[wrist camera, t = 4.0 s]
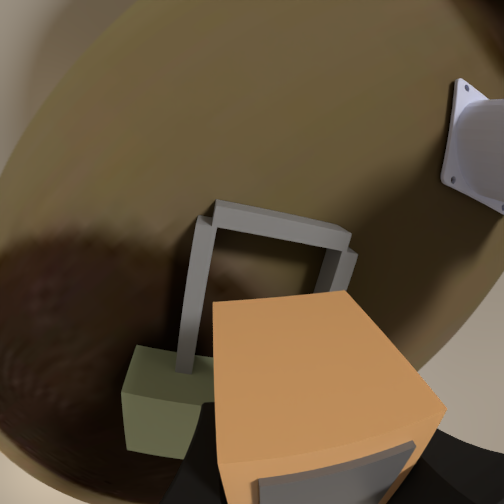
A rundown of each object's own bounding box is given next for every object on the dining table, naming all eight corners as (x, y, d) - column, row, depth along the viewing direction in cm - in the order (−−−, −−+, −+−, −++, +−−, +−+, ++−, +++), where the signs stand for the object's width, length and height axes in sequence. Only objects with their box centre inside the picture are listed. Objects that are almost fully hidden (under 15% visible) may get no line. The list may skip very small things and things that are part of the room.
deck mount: (385, 236, 18) (428, 261, 13) (310, 420, 22) (324, 460, 18) (151, 188, 15) (127, 201, 11) (136, 404, 20) (126, 449, 15)
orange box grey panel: (344, 289, 10) (452, 414, 4) (325, 421, 12) (369, 529, 6) (212, 302, 10) (218, 472, 4) (228, 434, 12) (242, 555, 6)
